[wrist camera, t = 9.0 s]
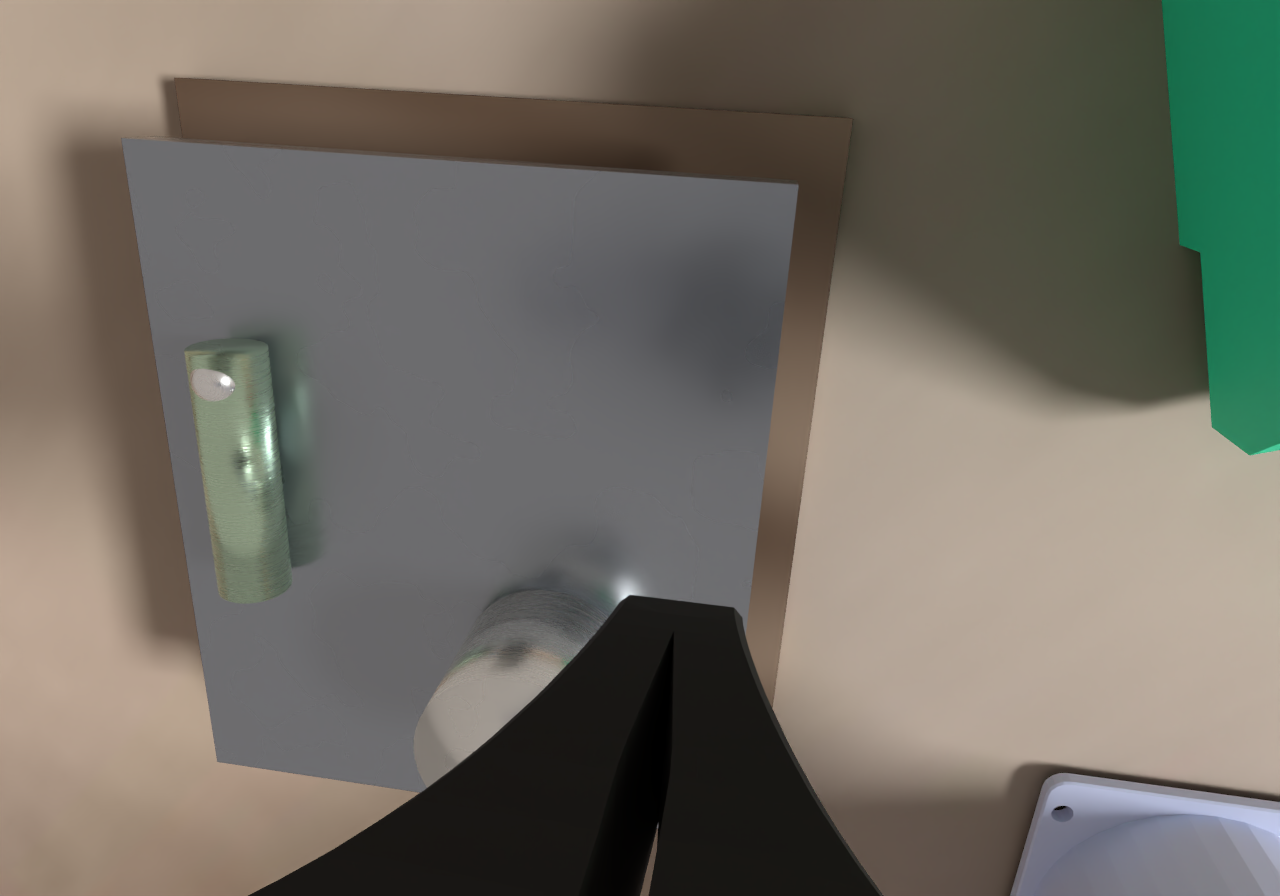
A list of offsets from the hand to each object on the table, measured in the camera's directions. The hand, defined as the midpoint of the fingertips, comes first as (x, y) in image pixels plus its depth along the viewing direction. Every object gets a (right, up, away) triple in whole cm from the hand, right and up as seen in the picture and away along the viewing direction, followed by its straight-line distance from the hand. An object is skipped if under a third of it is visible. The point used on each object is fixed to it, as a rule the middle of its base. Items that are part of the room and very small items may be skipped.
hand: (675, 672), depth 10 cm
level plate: (-4, +1, +8) cm, 9 cm away
